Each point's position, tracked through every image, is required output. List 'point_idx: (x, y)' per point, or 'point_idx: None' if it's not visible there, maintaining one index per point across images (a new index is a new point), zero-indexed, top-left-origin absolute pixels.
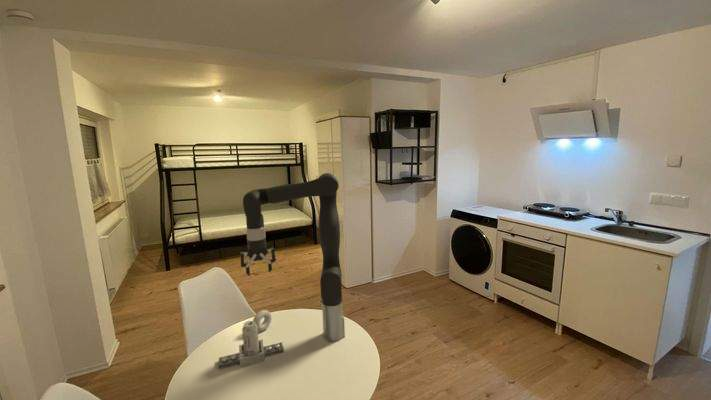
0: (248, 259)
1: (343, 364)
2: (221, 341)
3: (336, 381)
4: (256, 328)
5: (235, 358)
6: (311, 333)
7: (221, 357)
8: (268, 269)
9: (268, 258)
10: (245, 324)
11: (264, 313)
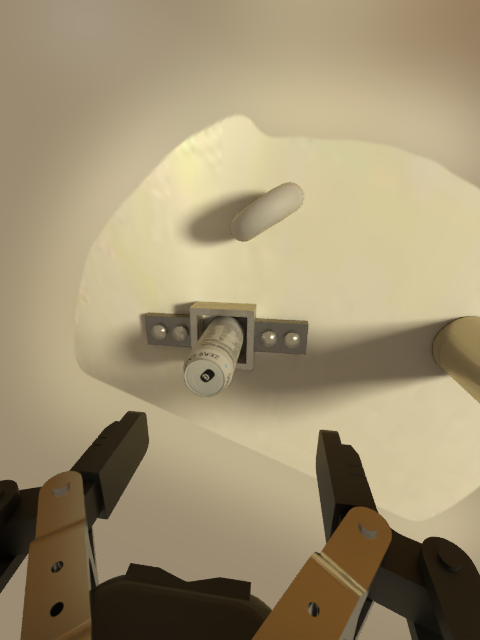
0: (33, 555)
1: (422, 450)
2: (143, 223)
3: (381, 480)
4: (228, 384)
5: (184, 339)
6: (409, 304)
7: (150, 316)
8: (320, 453)
9: (364, 593)
10: (191, 373)
11: (275, 221)
